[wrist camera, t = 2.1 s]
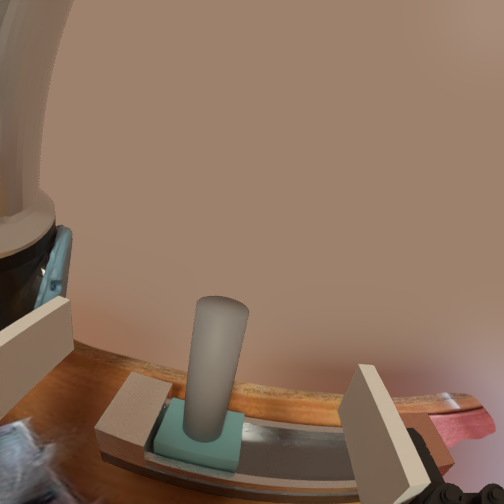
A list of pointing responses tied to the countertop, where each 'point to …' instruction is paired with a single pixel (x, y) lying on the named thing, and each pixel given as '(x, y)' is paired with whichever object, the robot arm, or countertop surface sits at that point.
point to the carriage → (208, 391)
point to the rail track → (244, 451)
